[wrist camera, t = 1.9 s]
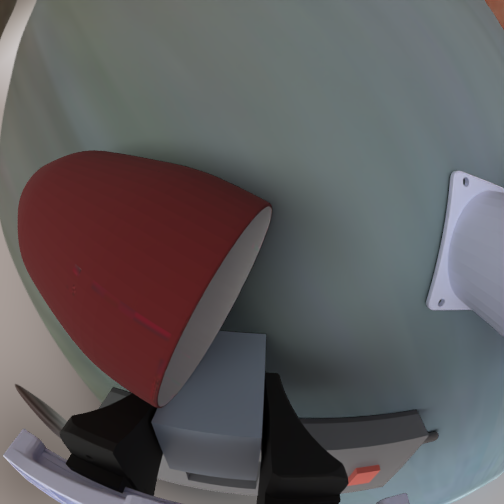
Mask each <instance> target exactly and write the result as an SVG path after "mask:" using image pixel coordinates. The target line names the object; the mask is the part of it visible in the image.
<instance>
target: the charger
mask: <svg viewBox="0 0 504 504" xmlns="http://www.w3.org/2000/svg"><path fill="white" fill-rule="evenodd" d="M265 353H266V334H256V333H241V332H228V331H218V333H217V335H216V337H215V338H214V340H213V342H212V343H211V345H210V347H209V348H208V350H207V352H206V353H205V355H204V356H203V358H202V360H201V361H200V363H199V364H198V366H197V367H196V369H195V370H194V372H193V373H192V375H191V376H190V377H189V379H188V380H187V382H186V383H185V384H184V386H183V387H182V388H181V390H180V391H179V392H178V393H177V394H176V396H175V397H174V398H173V399H172V400H171V401H170V402H169V403H168V404H167V405H165V406H164V407H162V408H157V410H156V413H155V415H154V417H153V419H152V422H151V423H152V426H153V428H154V431H155V434H156V436H157V439H158V442H159V444H160V447H161V449H162V452H163V454H164V456H165V459H166V461H167V463H168V466H169V468H170V469H174V470H179V471H183V472H188V473H194V474H200V475H206V476H213V477H220V478H229V479H239V480H253V481H256V479H257V471H258V463H259V456H260V448H261V439H262V422H263V401H264V378H265Z"/></svg>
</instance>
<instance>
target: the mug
mask: <svg viewBox="0 0 504 504" xmlns="http://www.w3.org/2000/svg"><path fill="white" fill-rule="evenodd" d="M271 216H272V206H271V204H270V203H268V202H267V201H265V200H263V199H261V198H259V197H257V196H255V195H253V194H252V193H250V192H248V191H246V190H244V189H242V188H240V187H238V186H235V185H233V184H231V183H229V182H227V181H225V180H222V179H220V178H218V177H216V176H213V175H211V174H208V173H205V172H203V171H199V170H196V169H193V168H189V167H186V166H182V165H177V164H173V163H168V162H163V161H158V160H153V159H147V158H142V157H137V156H131V155H125V154H119V153H113V152H107V151H82V152H77V153H73V154H70V155H67V156H64V157H62V158H59V159H57V160H55V161H53V162H51V163H49V164H47V165H45V166H43V167H42V168H40V169H39V170H38V171H37V172H36V173H35V174H34V175H33V176H32V177H31V178H30V179H29V181H28V182H27V184H26V186H25V188H24V189H23V192H22V194H21V197H20V201H19V207H18V240H19V246H20V252H21V255H22V259H23V262H24V264H25V267H26V269H27V271H28V273H29V275H30V277H31V278H32V280H33V282H34V284H35V285H36V287H37V289H38V290H39V292H40V294H41V295H42V297H43V298H44V300H45V301H46V303H47V304H48V306H49V308H50V309H51V310H52V312H53V313H54V315H55V316H56V318H57V319H58V321H59V322H60V323H61V325H62V326H63V328H64V329H65V330H66V332H67V333H68V334H69V336H70V337H71V338H72V340H73V341H74V342H75V343H76V344H77V346H78V347H79V348H80V349H81V350H82V352H83V353H84V354H85V355H86V356H87V357H88V358H89V359H90V360H91V361H92V362H93V363H94V364H95V365H96V366H97V367H98V368H100V369H101V370H102V371H103V372H104V373H106V374H107V375H108V376H109V377H111V378H112V379H113V380H115V381H116V382H117V383H119V384H120V385H121V386H123V387H124V388H126V389H127V390H129V391H130V392H132V393H133V394H135V395H136V396H138V397H139V398H141V399H143V400H144V401H146V402H147V403H149V404H151V405H152V406H154V407H156V408H162V407H164V406H165V405H167V404H168V403H169V402H170V401H171V400H172V399H173V398H174V397H175V396H176V394H177V393H178V392H179V391H180V390H181V388H182V387H183V386H184V384H185V383H186V382H187V380H188V379H189V377H190V376H191V375H192V373H193V372H194V370H195V369H196V367H197V366H198V364H199V363H200V361H201V360H202V358H203V356H204V355H205V353H206V352H207V350H208V348H209V347H210V345H211V343H212V342H213V340H214V338H215V337H216V335H217V333H218V331H219V330H220V328H221V326H222V324H223V323H224V321H225V319H226V317H227V315H228V314H229V312H230V310H231V308H232V306H233V304H234V302H235V301H236V299H237V297H238V295H239V293H240V291H241V289H242V287H243V285H244V283H245V281H246V279H247V277H248V275H249V273H250V270H251V268H252V266H253V264H254V262H255V260H256V257H257V255H258V253H259V250H260V248H261V246H262V243H263V241H264V238H265V235H266V233H267V230H268V227H269V224H270V220H271Z"/></svg>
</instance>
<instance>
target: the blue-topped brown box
mask: <svg viewBox="0 0 504 504" xmlns="http://www.w3.org/2000/svg"><path fill="white" fill-rule="evenodd" d="M485 1H486V3H487V4H488V6H489V7H490V9H491V10H492V12H493V13H494V15H495V16H496V18H497V19H498V21H499V23H500V24H501V26H502V28H503V29H504V0H485Z"/></svg>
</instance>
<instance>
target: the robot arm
mask: <svg viewBox="0 0 504 504" xmlns="http://www.w3.org/2000/svg"><path fill="white" fill-rule="evenodd" d="M463 179H465V185H464V184H463ZM441 299H442V300H441ZM440 300H441V302H440V303H439V304H438V302H439V301H440ZM426 305H427V307H428V308H429V309H430V310H473V311H474V312H475V313H476V314H478V315H479V316H480V317H481V318H482V319H484V320H485V321H486V322H487V323H488V324H489V325H490V326H492V327H493V328H494V329H495V330H496V331H497V332H498V333H500V334H501V335H502V336H503V337H504V188H502V187H500V186H498V185H495V184H493V183H491V182H488V181H486V180H483V179H481V178H478V177H475V176H473V175H470V174H467V173H465V172H462V171H453V172H452V174H451V177H450V186H449V196H448V204H447V211H446V218H445V224H444V230H443V235H442V240H441V245H440V250H439V255H438V259H437V263H436V267H435V271H434V275H433V279H432V283H431V286H430V290H429V293H428V297H427V300H426ZM156 410H157V408H156V407H154V406H152V405H151V404H149V403H147V402H146V401H144V400H143V399H141V398H139V397H138V396H136V395H135V394H133V393H131V394H130V395H128V396H126V397H124V398H123V399H121V400H119V401H117V402H115V403H112V404H110V405H108V406H106V407H103V408H100V409H97V410H94V411H91V412H87V413H83V414H78V415H74V416H72V417H71V418H70V419H69V420H68V421H67V423H66V424H65V426H64V427H63V429H62V430H61V432H60V437H61V439H62V441H63V442H64V444H65V445H66V446H67V448H68V449H69V451H70V452H71V453H72V454H71V455H70V457H69V459H68V460H66V459H64V458H62V457H60V456H59V455H57V454H55V453H54V452H52V451H50V450H49V449H47V448H46V447H45V445H44V444H43V443H42V442H41V440H40V439H38V438H37V437H36V436H34V435H33V434H31V433H30V432H28V431H27V430H26V429H23V430H22V431H21V432H20V433H19V435H18V436H17V437H16V439H15V440H14V441H13V443H12V444H11V445H10V447H9V448H8V449H7V450H6V452H5V453H4V457H5V458H6V460H8V462H9V463H10V464H11V465H12V466H13V467H14V468H15V469H16V470H17V471H18V472H19V473H20V474H21V475H22V476H23V477H24V478H25V479H27V480H28V481H29V482H31V483H32V484H33V485H35V486H36V487H37V488H39V489H40V490H42V491H43V492H45V493H46V494H47V495H49V496H51V497H52V498H54V499H55V500H57V501H58V502H60V503H61V504H181V503H177V502H173V501H169V500H165V499H162V498H158V497H155V496H154V491H155V485H156V481H157V476H158V472H159V467H160V464H161V460H162V456H163V452H162V449H161V447H160V444H159V442H158V439H157V436H156V434H155V431H154V428H153V426H152V423H151V422H152V419H153V417H154V415H155V413H156ZM348 484H349V482H348V476H347V473H346V470H345V467H344V465H343V463H341V462H340V461H339V460H337V459H336V458H335V457H333V456H332V455H331V454H330V453H329V452H327V451H326V450H325V449H324V448H323V447H322V446H321V445H320V444H319V443H318V442H317V441H316V440H315V439H314V438H313V437H312V435H311V434H310V433H309V432H308V430H307V429H306V428H305V427H304V425H303V424H302V422H301V421H300V419H299V418H298V416H297V415H296V413H295V411H294V409H293V408H292V406H291V404H290V402H289V400H288V398H287V395H286V393H285V391H284V388H283V386H282V383H281V379H280V375H279V374H278V373H265V380H264V401H263V422H262V439H261V464H260V476H259V486H258V496H257V504H339V502H340V493H341V492H342V491H343V490H344V489H345V488H346V487H347V485H348ZM376 504H410V503H409V500H408V496H407V493H403V494H400V495H396V496H392V497H388V498H385V499H382V500H380V501H379V502H377V503H376Z"/></svg>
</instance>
